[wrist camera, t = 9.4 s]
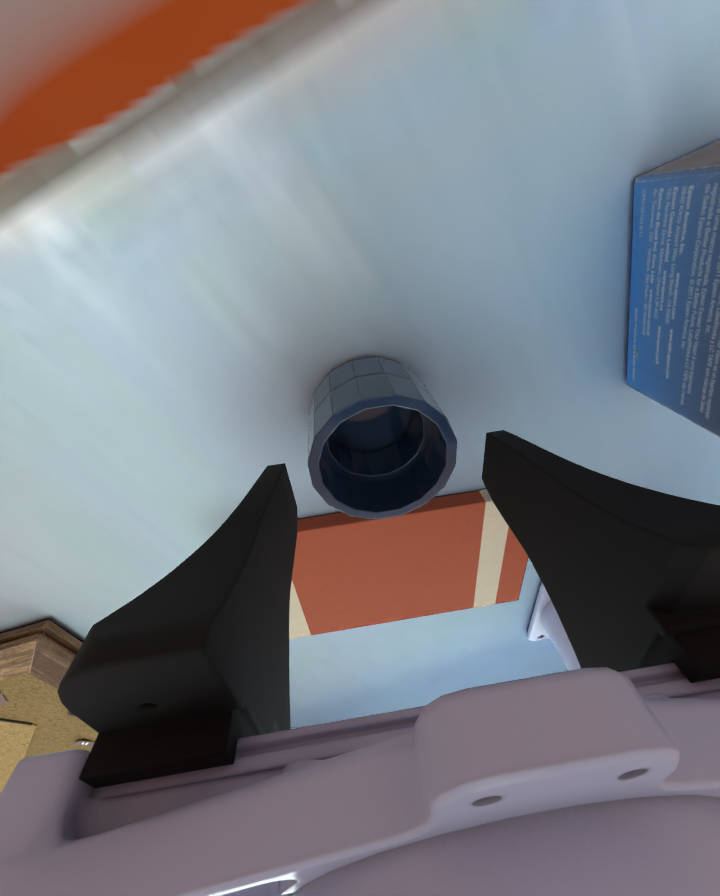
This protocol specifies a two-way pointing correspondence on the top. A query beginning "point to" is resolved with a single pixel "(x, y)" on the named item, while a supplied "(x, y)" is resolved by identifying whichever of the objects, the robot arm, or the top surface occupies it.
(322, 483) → the cup
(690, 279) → the label tape box
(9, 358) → the top surface
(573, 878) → the robot arm
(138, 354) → the top surface
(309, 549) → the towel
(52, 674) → the picture frame
